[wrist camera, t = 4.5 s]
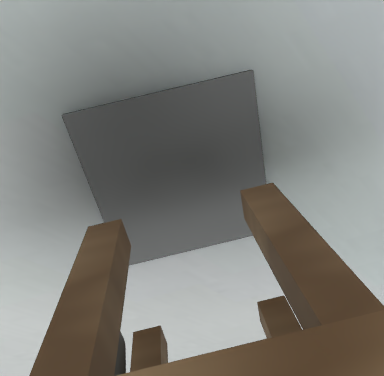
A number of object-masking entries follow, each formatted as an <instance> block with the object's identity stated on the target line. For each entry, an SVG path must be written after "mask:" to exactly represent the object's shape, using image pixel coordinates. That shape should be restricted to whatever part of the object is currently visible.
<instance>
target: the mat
mask: <svg viewBox="0 0 384 376" xmlns="http://www.w3.org/2000/svg"><path fill="white" fill-rule="evenodd" d="M62 118H63V120H64V123H65V125H66V128H67V130H68V133H69V135H70V138H71V140H72V143H73V145H74V148H75V150H76V153H77V155H78V158H79V160H80V163H81V165H82V168H83V170H84V173H85V175H86V178H87V180H88V183H89V185H90V188H91V190H92V193H93V195H94V198H95V200H96V203H97V205H98V208H99V210H100V213H101V215H102V218H103V220H104V223H106V222H110V221H114V220H119V219H122V222H123V225H124V227H125V230H126V233H127V236H128V238H129V241H130V244H131V252H130V260H129V265H133V264H137V263H141V262H145V261H149V260H153V259H158V258H162V257H166V256H170V255H174V254H178V253H182V252H187V251H191V250H195V249H199V248H203V247H207V246H211V245H215V244H220V243H224V242H228V241H232V240H236V239H240V238H244V237H248V236H253V234H252V232H251V230H250V228H249V227H248V225H247V223H246V221H245V219H244V213H243V207H242V200H241V194H240V190H244V189H248V188H252V187H257V186H261V185H265V184H266V179H265V170H264V161H263V153H262V144H261V135H260V126H259V117H258V108H257V99H256V91H255V82H254V73H253V70H249V71H244V72H240V73H236V74H232V75H227V76H223V77H219V78H215V79H210V80H206V81H202V82H198V83H194V84H189V85H185V86H181V87H177V88H172V89H168V90H164V91H160V92H155V93H151V94H147V95H143V96H138V97H134V98H130V99H126V100H122V101H117V102H113V103H109V104H105V105H100V106H96V107H92V108H88V109H83V110H79V111H75V112H71V113H66V114H63V115H62Z"/></svg>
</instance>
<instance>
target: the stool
mask: <svg viewBox="0 0 384 376" xmlns="http://www.w3.org/2000/svg"><path fill="white" fill-rule="evenodd" d="M240 194H241V200H242V207H243V213H244V219H245V221H246V223H247V225H248V227H249V228H250V230H251V232H252V234H253V236H254V238H255V240H256V242H257V243H258V245H259V247H260V249H261V251H262V253H263V255H264V257H265V259H266V260H267V262H268V264H269V266H270V268H271V270H272V272H273V274H274V275H275V277H276V279H277V281H278V283H279V285H280V287H281V289H282V291H283V292H284V294H285V296H286V298H287V300H288V302H289V304H290V306H291V307H292V309H293V311H294V313H295V315H296V317H297V319H298V321H299V323H300V324H301V326H302V328H303V330H302V329H301V327H300V325H299V323H298V321H297V319H296V317H295V315H294V313H293V311H292V310H291V308H290V306H289V304H288V302H287V300H286V298H285V296H280V297H276V298H272V299H268V300H264V301H260V302H257V303H258V309H259V316H260V322H261V324H262V327H263V329H264V332H265V334H266V337H267V339H264V340H260V341H256V342H251V343H247V344H243V345H239V346H235V347H231V348H227V349H223V350H219V351H215V352H211V353H207V354H202V355H198V356H194V357H190V358H186V359H182V360H178V361H174V362H170V363H168V352H167V342H166V339H165V336H164V334H163V331H162V328H161V326H157V327H153V328H149V329H145V330H140V331H136V332H133V344H132V356H131V368H130V372H129V373H125V374H121V375H117V376H384V306H383V305H382V304H381V302H380V301H379V300H378V299H377V298H376V297H375V296H374V295H373V294H372V292H371V291H370V290H369V289H368V288H367V287H366V286H365V285H364V284H363V282H362V281H361V280H360V279H359V278H358V277H357V276H356V275H355V274H354V272H353V271H352V270H351V269H350V268H349V267H348V266H347V265H346V264H345V262H344V261H343V260H342V259H341V258H340V257H339V256H338V255H337V254H336V252H335V251H334V250H333V249H332V248H331V247H330V246H329V245H328V244H327V242H326V241H325V240H324V239H323V238H322V237H321V236H320V235H319V234H318V232H317V231H316V230H315V229H314V228H313V227H312V226H311V225H310V224H309V222H308V221H307V220H306V219H305V218H304V217H303V216H302V215H301V214H300V212H299V211H298V210H297V209H296V208H295V207H294V206H293V205H292V204H291V202H290V201H289V200H288V199H287V198H286V197H285V196H284V195H283V194H282V192H281V191H280V190H279V189H278V188H277V187H276V186H275V185H274V184H273V183H269V184H265V185H261V186H257V187H252V188H248V189H244V190H240ZM130 252H131V244H130V241H129V238H128V236H127V233H126V230H125V227H124V225H123V222H122V219H119V220H114V221H110V222H106V223H102V224H98V225H94V226H89V227H88V229H87V231H86V234H85V236H84V239H83V241H82V244H81V246H80V249H79V251H78V254H77V256H76V259H75V262H74V264H73V267H72V269H71V272H70V274H69V277H68V279H67V282H66V284H65V287H64V289H63V292H62V294H61V297H60V300H59V302H58V305H57V307H56V310H55V312H54V315H53V317H52V320H51V322H50V325H49V327H48V330H47V332H46V335H45V337H44V340H43V343H42V345H41V348H40V350H39V353H38V355H37V358H36V360H35V363H34V365H33V368H32V370H31V373H30V375H29V376H114V374H115V366H116V358H117V351H118V343H119V336H120V328H121V320H122V313H123V305H124V298H125V290H126V282H127V275H128V267H129V260H130Z"/></svg>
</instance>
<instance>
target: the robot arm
mask: <svg viewBox="0 0 384 376" xmlns="http://www.w3.org/2000/svg"><path fill="white" fill-rule="evenodd" d="M125 373H126V353H125V341H124V338H123V336H122V334H121V332H120V336H119V343H118V351H117V358H116V366H115V374H114V376H117V375H121V374H125Z"/></svg>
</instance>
